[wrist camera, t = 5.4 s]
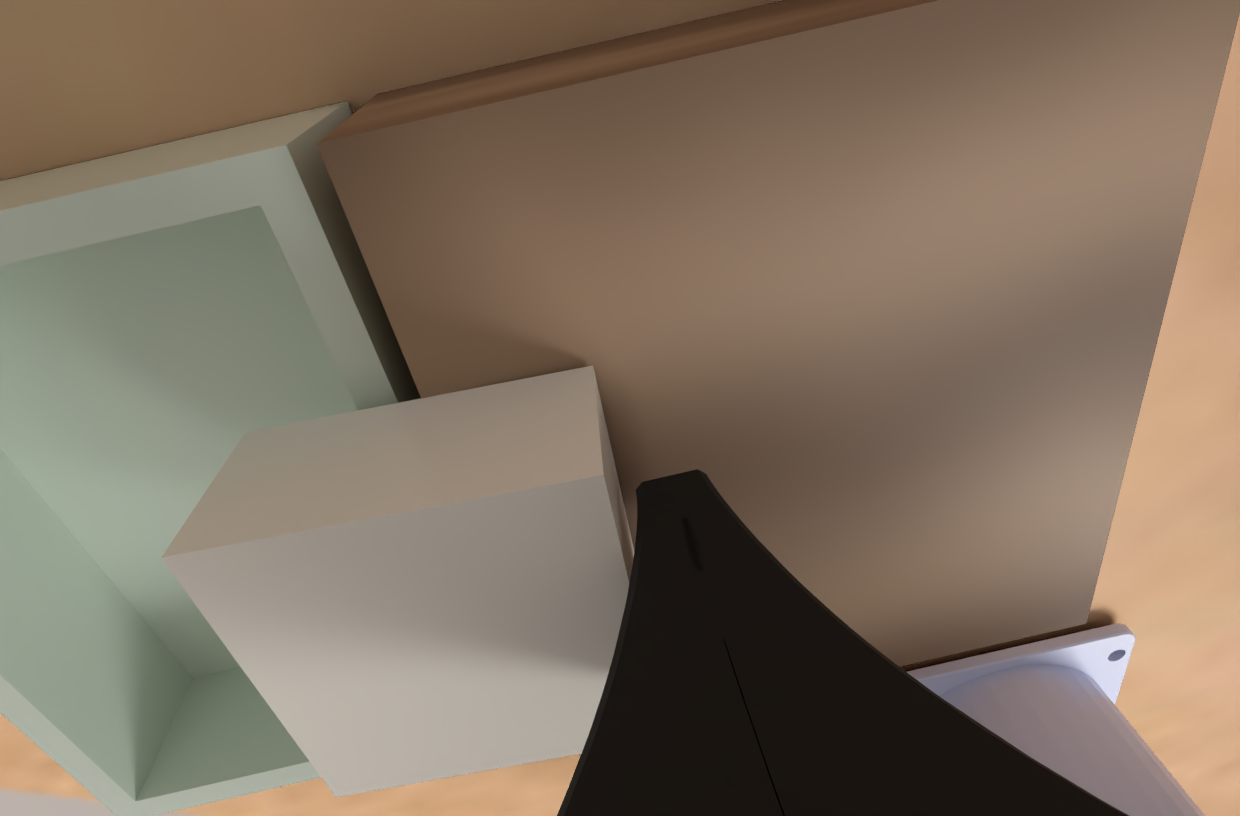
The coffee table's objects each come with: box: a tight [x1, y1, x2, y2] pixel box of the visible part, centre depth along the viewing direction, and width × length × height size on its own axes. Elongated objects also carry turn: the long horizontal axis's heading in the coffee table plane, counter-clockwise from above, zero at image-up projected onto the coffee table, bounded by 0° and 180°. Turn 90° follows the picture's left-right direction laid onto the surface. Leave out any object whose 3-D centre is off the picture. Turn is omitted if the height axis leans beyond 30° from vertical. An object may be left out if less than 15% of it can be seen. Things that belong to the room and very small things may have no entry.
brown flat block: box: [317, 0, 1240, 667], centre depth 13 cm, size 12×11×4 cm
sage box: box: [0, 101, 421, 816], centre depth 13 cm, size 12×9×4 cm
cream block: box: [161, 366, 634, 797], centre depth 10 cm, size 5×5×2 cm
